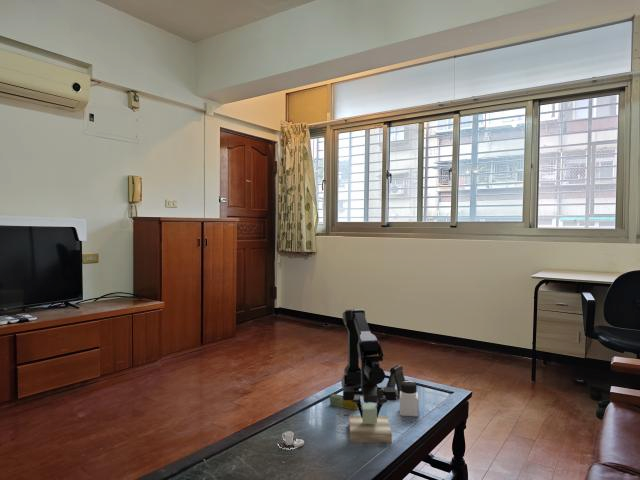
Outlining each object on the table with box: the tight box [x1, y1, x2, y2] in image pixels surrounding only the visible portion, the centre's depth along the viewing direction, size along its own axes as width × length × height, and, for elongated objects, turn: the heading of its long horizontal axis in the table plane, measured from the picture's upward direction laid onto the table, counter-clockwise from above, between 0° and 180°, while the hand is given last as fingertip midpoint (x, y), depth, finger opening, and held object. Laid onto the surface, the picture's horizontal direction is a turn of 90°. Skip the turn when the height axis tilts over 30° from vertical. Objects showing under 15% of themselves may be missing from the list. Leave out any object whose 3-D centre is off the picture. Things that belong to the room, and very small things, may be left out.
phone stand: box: [385, 364, 406, 398], centre depth 188 cm, size 9×6×12 cm, turn 50°
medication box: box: [329, 393, 358, 411], centre depth 174 cm, size 12×3×4 cm, turn 58°
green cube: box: [361, 403, 377, 424], centre depth 151 cm, size 5×5×5 cm
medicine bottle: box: [399, 380, 419, 418], centre depth 168 cm, size 7×7×12 cm
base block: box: [348, 415, 393, 443], centre depth 151 cm, size 14×14×3 cm
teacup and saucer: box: [277, 430, 305, 451], centre depth 144 cm, size 9×8×4 cm
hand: (369, 417), depth 151 cm, fingers closed on green cube, 5 cm apart
